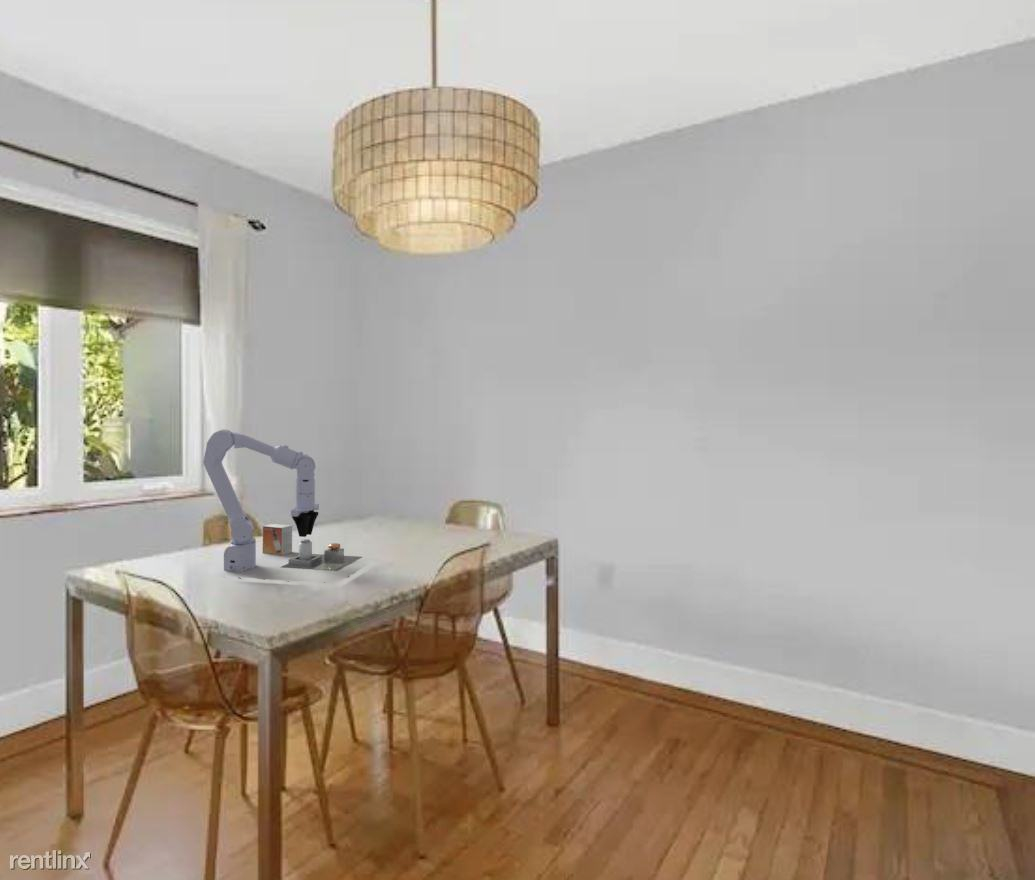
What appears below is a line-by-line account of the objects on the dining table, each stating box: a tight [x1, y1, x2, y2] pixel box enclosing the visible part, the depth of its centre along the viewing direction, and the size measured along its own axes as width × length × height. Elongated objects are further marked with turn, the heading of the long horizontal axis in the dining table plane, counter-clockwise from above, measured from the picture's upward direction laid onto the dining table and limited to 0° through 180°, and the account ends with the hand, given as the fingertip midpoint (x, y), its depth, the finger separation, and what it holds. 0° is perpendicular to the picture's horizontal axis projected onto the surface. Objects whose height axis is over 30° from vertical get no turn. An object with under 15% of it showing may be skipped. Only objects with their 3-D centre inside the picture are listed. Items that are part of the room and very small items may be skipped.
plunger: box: [327, 542, 341, 551], centre depth 211 cm, size 4×4×4 cm
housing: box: [280, 547, 363, 572], centre depth 207 cm, size 19×19×4 cm
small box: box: [262, 523, 293, 556], centre depth 220 cm, size 8×6×10 cm
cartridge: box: [298, 538, 313, 560], centre depth 206 cm, size 4×4×7 cm
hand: (305, 535), depth 206 cm, fingers open, 3 cm apart
